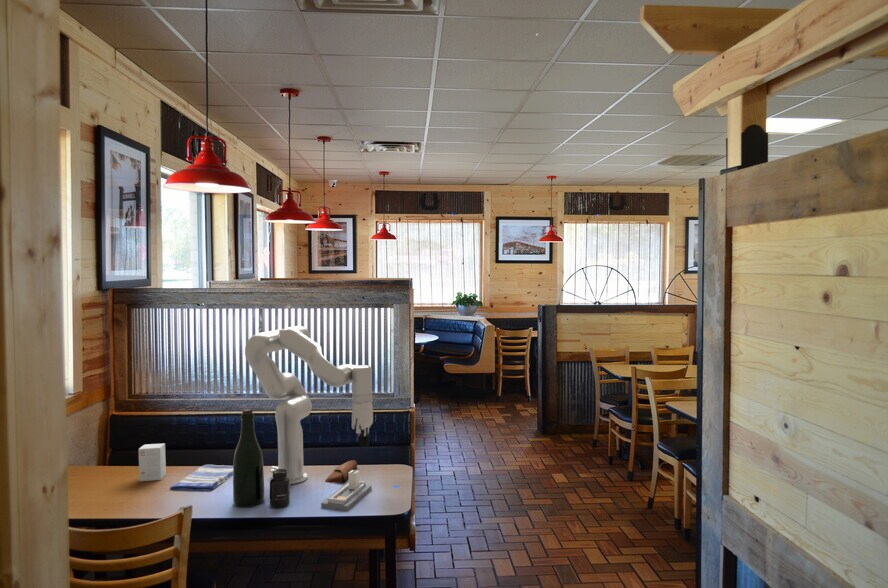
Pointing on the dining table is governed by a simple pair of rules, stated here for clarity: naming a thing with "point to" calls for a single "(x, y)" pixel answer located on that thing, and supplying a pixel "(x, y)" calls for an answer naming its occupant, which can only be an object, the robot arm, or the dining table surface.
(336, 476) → the sunglasses case
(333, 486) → the dining table surface
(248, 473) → the beer bottle
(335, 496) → the fader console
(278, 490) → the supplement bottle
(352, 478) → the fader knob
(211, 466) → the dish towel
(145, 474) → the small box
